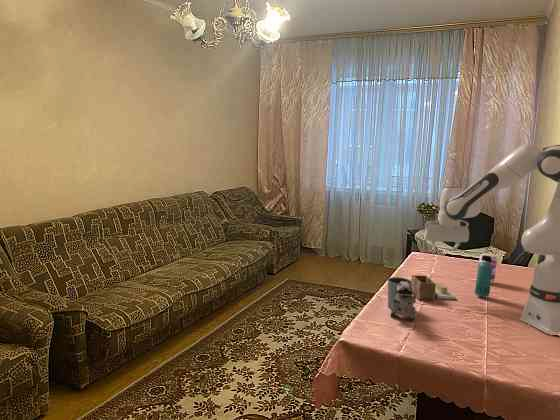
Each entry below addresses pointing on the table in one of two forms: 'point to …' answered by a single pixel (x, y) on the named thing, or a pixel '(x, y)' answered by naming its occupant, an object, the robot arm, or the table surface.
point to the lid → (443, 292)
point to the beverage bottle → (484, 277)
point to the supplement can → (493, 262)
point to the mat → (443, 299)
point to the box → (423, 287)
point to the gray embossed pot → (394, 288)
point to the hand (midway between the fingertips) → (444, 250)
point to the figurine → (404, 301)
